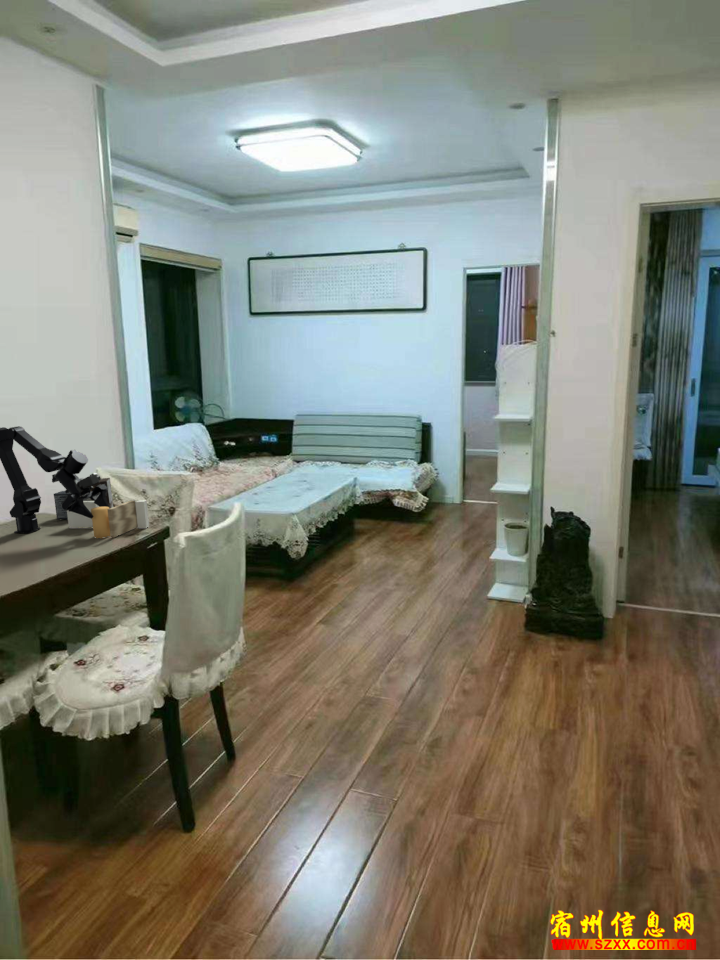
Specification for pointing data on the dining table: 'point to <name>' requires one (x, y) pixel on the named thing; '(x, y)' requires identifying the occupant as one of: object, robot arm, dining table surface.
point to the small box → (59, 499)
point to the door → (122, 518)
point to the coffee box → (109, 494)
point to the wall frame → (83, 521)
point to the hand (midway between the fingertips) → (101, 514)
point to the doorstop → (100, 522)
